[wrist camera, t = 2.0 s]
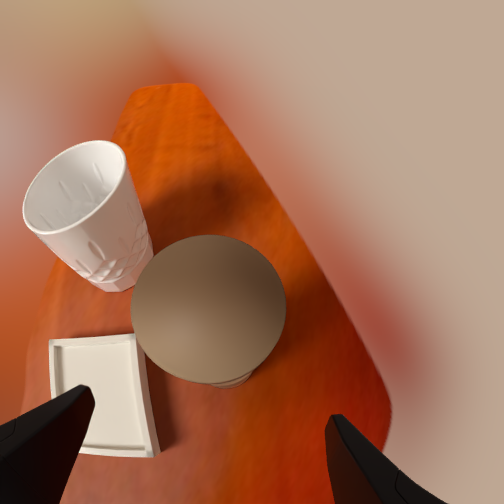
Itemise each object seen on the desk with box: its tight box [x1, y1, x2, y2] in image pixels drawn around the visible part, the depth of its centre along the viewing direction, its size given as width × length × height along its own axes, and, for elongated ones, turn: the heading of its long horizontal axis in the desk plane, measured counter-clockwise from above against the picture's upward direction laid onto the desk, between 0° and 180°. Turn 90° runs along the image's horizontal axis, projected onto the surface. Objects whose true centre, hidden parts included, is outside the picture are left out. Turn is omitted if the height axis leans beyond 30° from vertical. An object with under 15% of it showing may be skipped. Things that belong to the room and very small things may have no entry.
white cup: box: [23, 140, 154, 292], centre depth 18 cm, size 8×8×10 cm
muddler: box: [131, 235, 286, 389], centre depth 14 cm, size 5×5×13 cm
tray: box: [49, 333, 161, 457], centre depth 16 cm, size 9×8×2 cm
